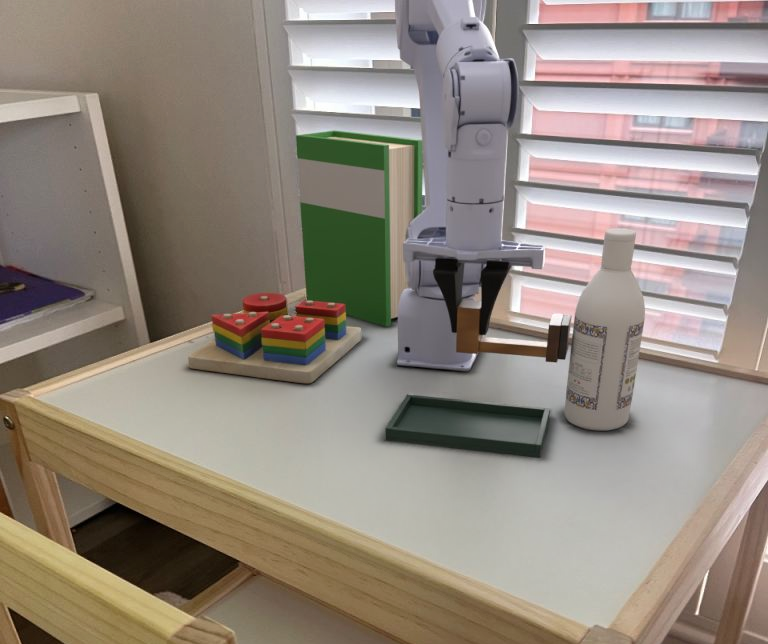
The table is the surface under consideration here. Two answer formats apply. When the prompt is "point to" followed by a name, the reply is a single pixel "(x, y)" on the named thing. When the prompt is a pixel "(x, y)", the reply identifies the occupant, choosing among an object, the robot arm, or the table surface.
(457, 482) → the table surface
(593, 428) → the bath foam
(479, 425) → the brush tray
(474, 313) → the brown barbell-shaped piece
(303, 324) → the shape sorter
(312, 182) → the hardback book
